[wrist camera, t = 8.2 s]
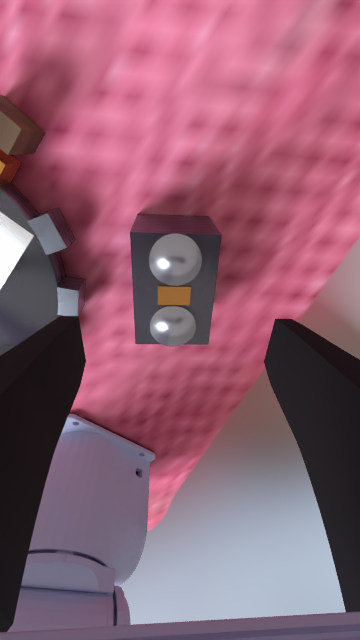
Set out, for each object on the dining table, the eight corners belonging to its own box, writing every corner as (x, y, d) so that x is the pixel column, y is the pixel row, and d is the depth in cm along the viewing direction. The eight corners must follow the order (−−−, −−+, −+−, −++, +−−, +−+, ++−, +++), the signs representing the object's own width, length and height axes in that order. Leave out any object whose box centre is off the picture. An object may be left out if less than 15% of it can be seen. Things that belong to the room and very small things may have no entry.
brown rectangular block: (45, 132, 13) (21, 128, 11) (33, 154, 14) (7, 154, 11) (4, 96, 12) (-31, 84, 10) (-8, 120, 13) (-43, 114, 11)
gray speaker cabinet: (137, 213, 15) (129, 233, 12) (208, 216, 16) (222, 236, 12) (140, 308, 19) (135, 346, 15) (200, 309, 19) (208, 346, 15)
